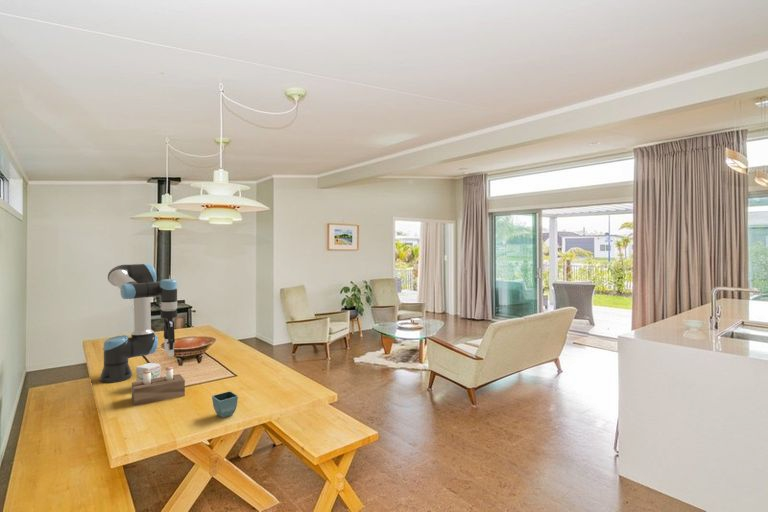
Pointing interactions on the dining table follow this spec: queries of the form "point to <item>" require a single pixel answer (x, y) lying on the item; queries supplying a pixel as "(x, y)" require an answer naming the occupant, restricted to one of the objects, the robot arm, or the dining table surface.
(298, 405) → the dining table surface
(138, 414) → the dining table surface
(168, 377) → the peg
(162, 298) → the robot arm
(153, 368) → the ink box
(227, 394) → the flower pot
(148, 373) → the peg
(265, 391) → the dining table surface
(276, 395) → the dining table surface
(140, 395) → the walnut block
